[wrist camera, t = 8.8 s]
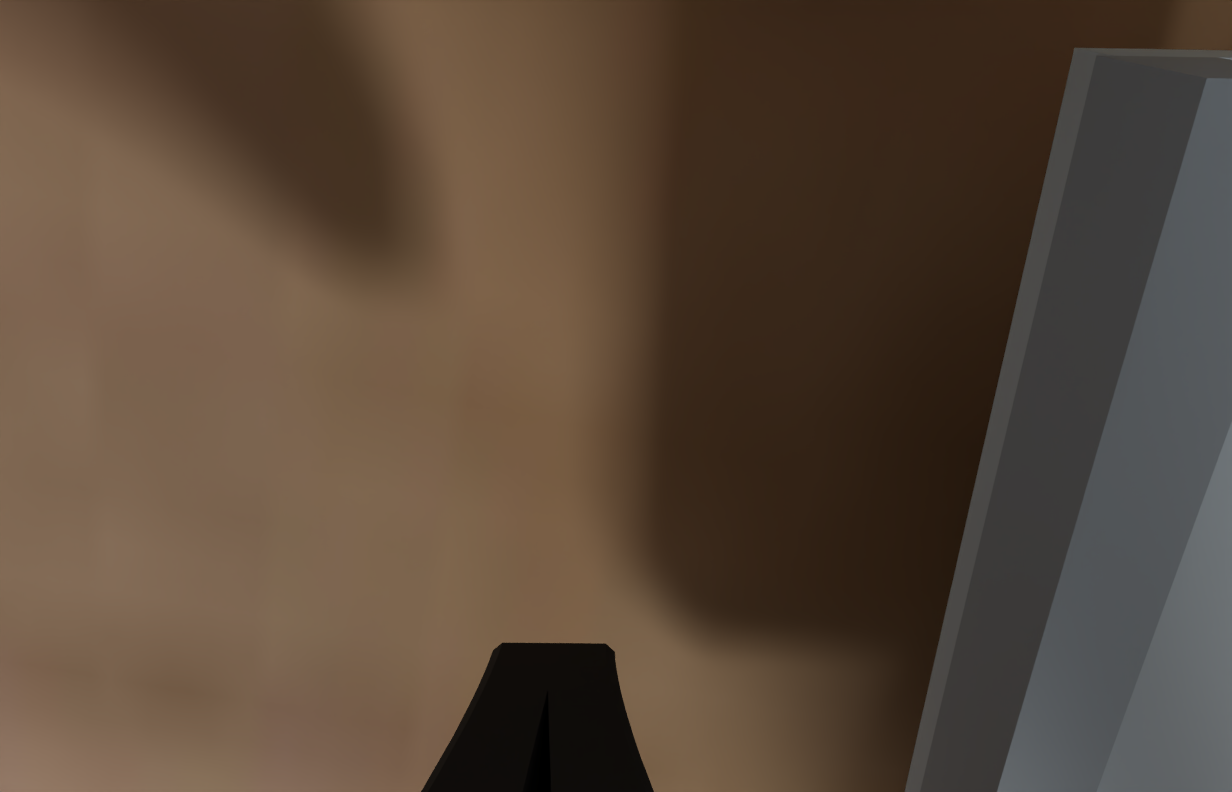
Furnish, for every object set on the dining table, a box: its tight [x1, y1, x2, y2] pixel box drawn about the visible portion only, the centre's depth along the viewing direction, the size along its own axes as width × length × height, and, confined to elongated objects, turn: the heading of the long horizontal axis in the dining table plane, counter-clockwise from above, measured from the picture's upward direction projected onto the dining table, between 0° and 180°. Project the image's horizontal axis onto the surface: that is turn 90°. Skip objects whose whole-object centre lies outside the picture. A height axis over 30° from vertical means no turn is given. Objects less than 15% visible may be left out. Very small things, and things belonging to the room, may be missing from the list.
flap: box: [905, 48, 1232, 792], centre depth 10 cm, size 15×6×2 cm, turn 179°
